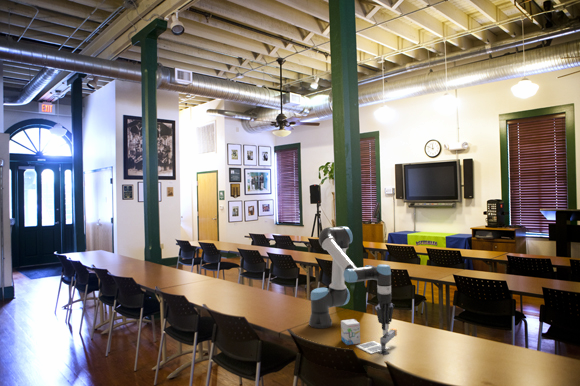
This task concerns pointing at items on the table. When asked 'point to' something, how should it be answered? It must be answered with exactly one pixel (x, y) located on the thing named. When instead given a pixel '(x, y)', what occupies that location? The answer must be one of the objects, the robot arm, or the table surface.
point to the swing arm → (388, 336)
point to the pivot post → (383, 350)
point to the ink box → (350, 331)
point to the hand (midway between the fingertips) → (385, 335)
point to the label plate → (370, 347)
